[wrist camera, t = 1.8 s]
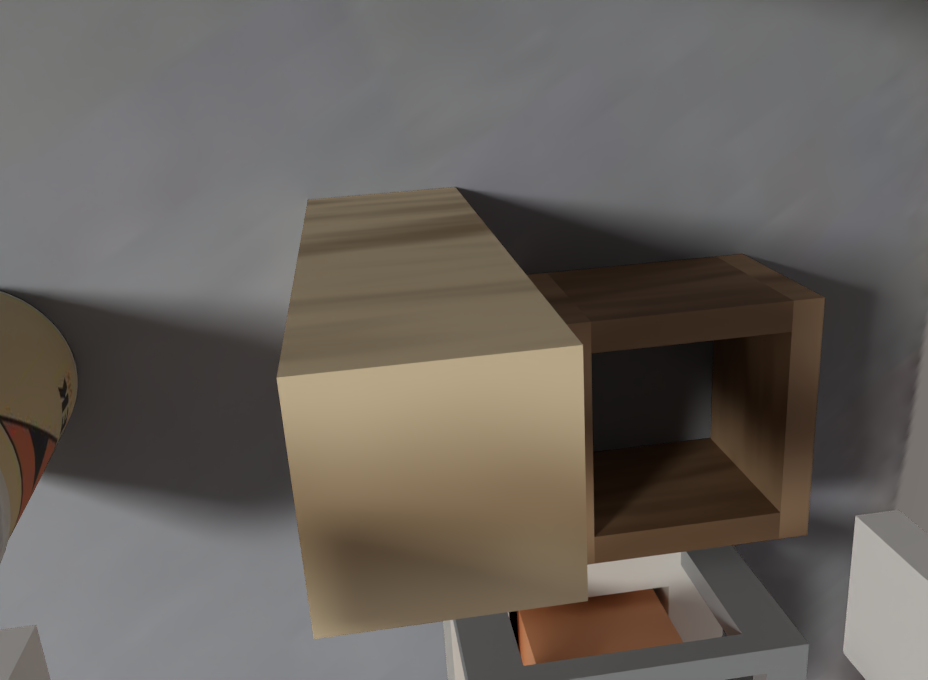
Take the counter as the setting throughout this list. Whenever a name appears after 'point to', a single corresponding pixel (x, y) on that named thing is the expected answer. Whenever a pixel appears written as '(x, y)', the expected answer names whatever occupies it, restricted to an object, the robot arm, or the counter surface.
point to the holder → (733, 403)
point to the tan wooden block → (428, 419)
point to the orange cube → (594, 627)
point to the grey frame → (690, 610)
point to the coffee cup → (29, 403)
